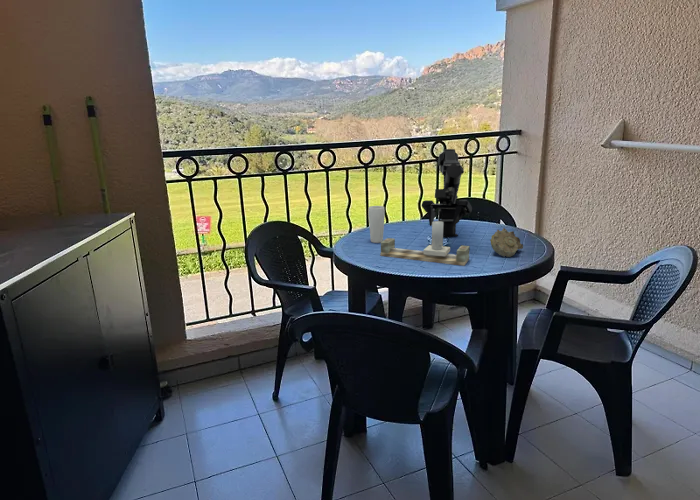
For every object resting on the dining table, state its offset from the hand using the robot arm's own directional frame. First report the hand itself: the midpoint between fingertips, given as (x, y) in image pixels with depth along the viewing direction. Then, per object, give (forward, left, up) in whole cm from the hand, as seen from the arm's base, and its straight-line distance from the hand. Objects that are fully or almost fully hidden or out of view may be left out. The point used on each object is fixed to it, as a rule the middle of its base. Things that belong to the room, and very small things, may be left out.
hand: (441, 226), depth 167 cm
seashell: (-21, +12, -11) cm, 27 cm away
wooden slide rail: (+9, +3, -10) cm, 14 cm away
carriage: (+6, +7, -8) cm, 12 cm away
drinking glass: (+15, -25, -11) cm, 31 cm away
